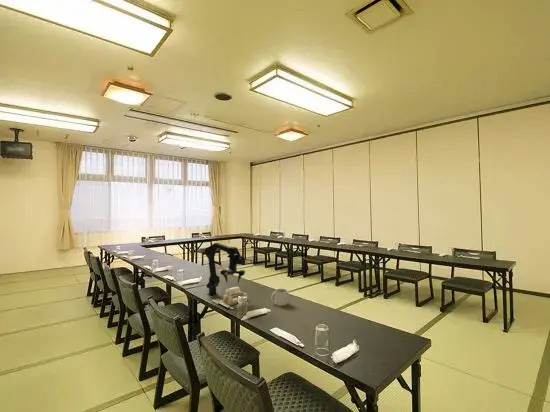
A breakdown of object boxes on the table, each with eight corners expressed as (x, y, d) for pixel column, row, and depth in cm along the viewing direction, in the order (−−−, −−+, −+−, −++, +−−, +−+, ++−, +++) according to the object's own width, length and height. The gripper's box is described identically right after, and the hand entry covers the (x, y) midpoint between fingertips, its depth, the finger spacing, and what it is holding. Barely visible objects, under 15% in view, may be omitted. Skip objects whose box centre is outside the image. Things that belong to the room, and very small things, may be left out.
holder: (222, 301, 211) (222, 295, 211) (239, 296, 223) (239, 290, 223) (231, 305, 203) (231, 298, 203) (247, 299, 215) (247, 293, 215)
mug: (288, 302, 209) (288, 289, 209) (284, 306, 200) (284, 293, 200) (276, 300, 213) (276, 287, 214) (270, 304, 205) (270, 291, 205)
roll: (230, 297, 219) (230, 289, 219) (225, 295, 223) (225, 288, 224) (240, 294, 226) (240, 287, 226) (235, 292, 231) (235, 285, 231)
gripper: (218, 265, 210) (217, 285, 210) (242, 266, 208) (241, 286, 208) (222, 262, 221) (222, 281, 221) (245, 263, 219) (244, 282, 219)
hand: (232, 282), depth 217 cm, fingers open, 9 cm apart
